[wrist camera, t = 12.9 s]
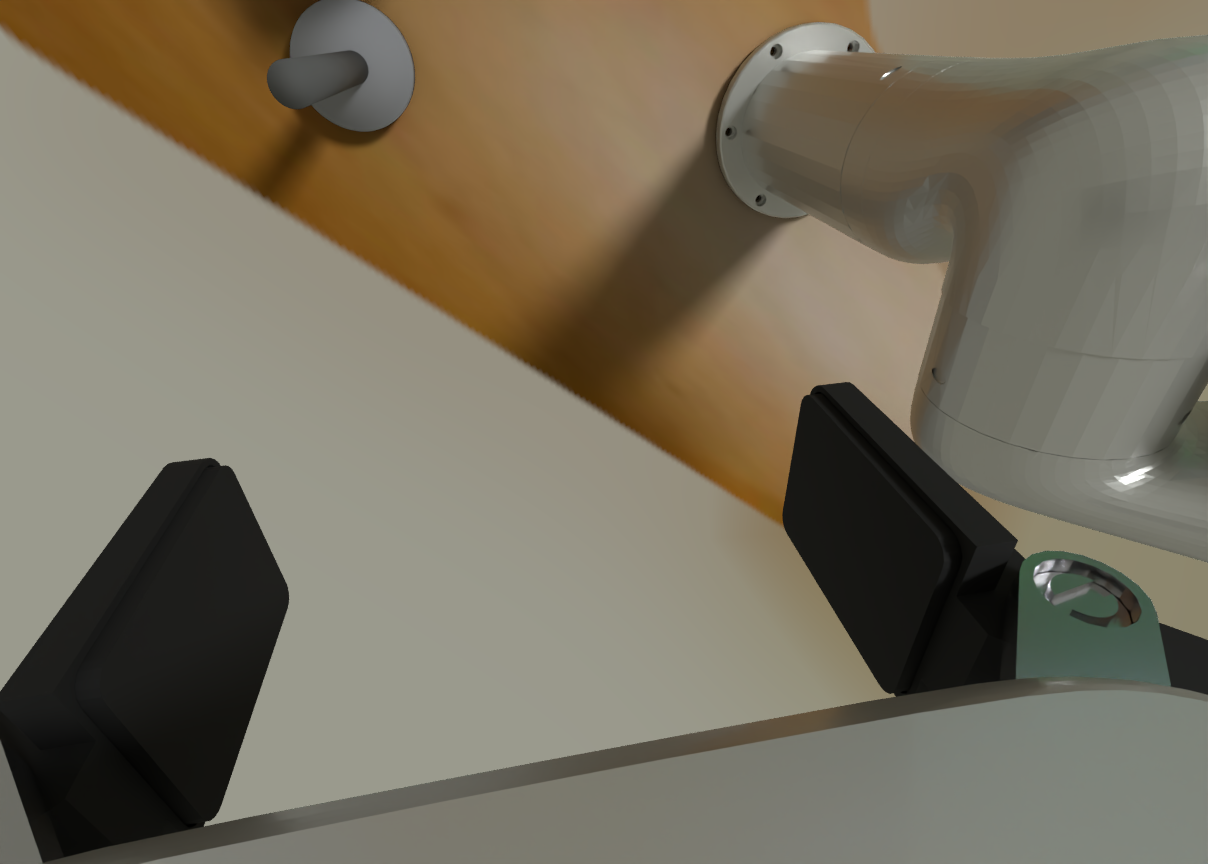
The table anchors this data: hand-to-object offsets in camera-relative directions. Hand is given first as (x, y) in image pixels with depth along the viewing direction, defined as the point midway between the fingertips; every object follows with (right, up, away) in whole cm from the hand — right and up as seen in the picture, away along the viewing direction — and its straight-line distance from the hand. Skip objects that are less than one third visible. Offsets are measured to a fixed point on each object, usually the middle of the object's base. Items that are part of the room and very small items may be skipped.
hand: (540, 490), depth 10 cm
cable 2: (-14, +24, +28) cm, 39 cm away
